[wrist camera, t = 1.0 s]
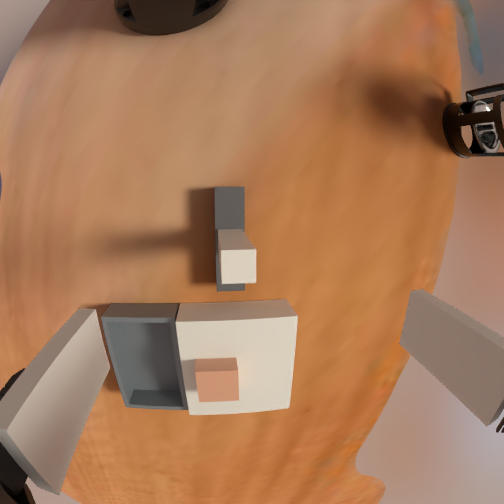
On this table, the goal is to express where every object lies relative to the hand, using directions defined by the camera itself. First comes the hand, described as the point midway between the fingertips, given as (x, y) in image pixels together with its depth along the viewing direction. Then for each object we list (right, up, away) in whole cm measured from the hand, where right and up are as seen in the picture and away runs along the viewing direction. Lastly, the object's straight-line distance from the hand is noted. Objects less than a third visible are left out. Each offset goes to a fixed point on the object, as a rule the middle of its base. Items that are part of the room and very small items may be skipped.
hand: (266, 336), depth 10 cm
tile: (-5, -11, +20) cm, 23 cm away
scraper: (-3, +5, +22) cm, 23 cm away
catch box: (-14, -10, +24) cm, 29 cm away
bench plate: (-3, -10, +25) cm, 27 cm away
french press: (+33, +24, +23) cm, 47 cm away
